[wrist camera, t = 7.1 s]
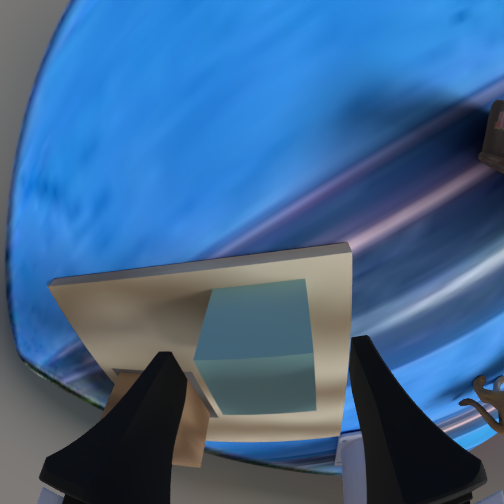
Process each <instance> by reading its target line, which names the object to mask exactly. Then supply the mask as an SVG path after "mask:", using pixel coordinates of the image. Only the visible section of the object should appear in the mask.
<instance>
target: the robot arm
mask: <svg viewBox="0 0 504 504" xmlns="http://www.w3.org/2000/svg"><path fill="white" fill-rule="evenodd" d="M349 372H350V380H351V388H352V394H353V398H354V402H355V407H356V411H357V415H358V420H359V424H360V429H361V431H358V432H352V433H345V434H341V435H340V436H339V437H338V444H337V450H336V457H335V466H341V465H342V472H343V486H344V504H470V500H471V499H472V498H473V497H472V491H473V490H475V489H477V488H479V487H480V486H482V485H484V484H485V483H486V482H487V476H486V472H485V469H484V466H483V464H482V462H481V460H480V459H478V458H477V457H476V456H474V455H473V454H471V453H470V452H468V451H467V450H465V449H464V448H463V447H461V446H460V445H459V444H457V443H456V442H455V441H454V440H452V439H451V438H450V437H449V436H448V435H447V434H445V433H444V432H443V431H442V430H441V429H440V428H439V427H438V426H436V425H435V424H434V423H433V422H432V421H431V420H430V419H429V418H428V417H427V416H426V415H425V414H424V412H423V411H422V410H421V409H420V408H419V407H418V406H417V405H416V404H415V402H414V401H413V400H412V399H411V398H410V397H409V395H408V394H407V393H406V392H405V390H404V389H403V388H402V386H401V385H400V384H399V382H398V381H397V380H396V378H395V377H394V375H393V374H392V373H391V371H390V370H389V368H388V367H387V365H386V364H385V362H384V361H383V359H382V358H381V356H380V355H379V353H378V351H377V350H376V348H375V346H374V344H373V343H372V341H371V339H370V337H369V336H367V335H365V336H358V337H352V338H351V352H350V364H349ZM187 382H188V379H187V377H186V376H185V374H184V372H183V371H182V369H181V367H180V366H179V364H178V362H177V360H176V359H175V357H174V355H173V353H172V352H171V351H159V352H158V353H157V354H156V356H155V357H154V358H153V359H152V361H151V362H150V363H149V365H148V366H147V367H146V368H145V370H144V371H143V372H142V374H141V375H140V376H139V378H138V379H137V380H136V381H135V383H134V384H133V385H132V386H131V388H130V389H129V390H128V391H127V393H126V394H125V395H124V396H123V397H122V398H121V400H120V401H119V402H118V403H117V404H116V405H115V406H114V408H113V409H112V410H111V411H110V412H109V413H108V414H107V415H106V416H105V417H104V418H103V419H101V420H100V421H99V422H98V423H97V424H96V425H95V426H94V427H93V428H91V429H90V430H89V431H88V432H86V433H85V434H84V435H83V436H81V437H80V438H78V439H77V440H76V441H74V442H73V443H71V444H70V445H69V446H67V447H65V448H63V449H62V450H60V451H58V452H56V453H54V454H52V455H50V456H48V457H47V458H46V460H45V462H44V465H43V468H42V470H41V473H40V476H39V479H40V480H41V481H42V482H44V483H46V484H48V485H49V486H51V487H53V488H55V489H57V490H59V491H60V492H63V493H64V494H65V496H64V498H63V497H61V496H59V495H57V494H55V493H53V492H52V491H49V490H48V489H46V488H42V491H41V494H40V497H39V500H38V503H37V504H170V482H171V468H172V459H173V451H174V445H175V441H176V437H177V433H178V429H179V425H180V421H181V417H182V413H183V409H184V404H185V400H186V392H187ZM474 504H504V497H503V492H502V491H501V490H500V491H498V492H496V493H495V494H493V495H491V496H489V497H487V498H485V499H483V500H481V501H479V502H476V503H474Z"/></svg>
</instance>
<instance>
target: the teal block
mask: <svg viewBox="0 0 504 504" xmlns="http://www.w3.org/2000/svg"><path fill="white" fill-rule="evenodd" d="M193 361H194V363H195V365H196V367H197V369H198V371H199V373H200V375H201V376H202V378H203V380H204V382H205V384H206V386H207V387H208V389H209V391H210V393H211V395H212V396H213V398H214V400H215V402H216V404H217V405H218V407H219V409H220V410H221V412H222V414H223V415H262V414H283V413H296V412H308V411H317V407H316V384H315V366H314V351H313V341H312V331H311V322H310V313H309V304H308V296H307V288H306V280H305V279H298V280H289V281H281V282H272V283H263V284H254V285H245V286H235V287H225V288H215V289H212V293H211V296H210V300H209V304H208V307H207V311H206V314H205V318H204V322H203V325H202V329H201V333H200V336H199V340H198V344H197V347H196V351H195V355H194V359H193Z"/></svg>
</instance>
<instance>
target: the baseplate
mask: <svg viewBox="0 0 504 504" xmlns="http://www.w3.org/2000/svg"><path fill="white" fill-rule="evenodd" d="M298 279H305V280H306V288H307V296H308V304H309V313H310V322H311V331H312V341H313V351H314V366H315V384H316V407H317V411H308V412H296V413H283V414H262V415H223V414H222V412H221V410H220V409H219V407H218V405H217V404H216V402H215V400H214V398H213V396H212V395H211V393H210V391H209V389H208V387H207V386H206V384H205V382H204V380H203V378H202V376H201V375H200V373H199V371H198V369H197V367H196V365H195V363H194V361H193V359H194V355H195V351H196V347H197V344H198V340H199V336H200V333H201V329H202V325H203V322H204V318H205V314H206V311H207V307H208V304H209V300H210V296H211V293H212V289H215V288H225V287H235V286H245V285H254V284H263V283H272V282H281V281H289V280H298ZM48 288H49V290H50V292H51V293H52V295H53V297H54V299H55V300H56V302H57V304H58V305H59V307H60V309H61V310H62V312H63V313H64V315H65V317H66V318H67V320H68V321H69V323H70V324H71V326H72V327H73V329H74V330H75V332H76V333H77V335H78V336H79V338H80V339H81V341H82V342H83V344H84V345H85V346H86V348H87V349H88V351H89V352H90V353H91V355H92V356H93V357H94V359H95V360H96V361H97V363H98V364H99V365H100V367H101V368H102V369H103V371H104V372H105V373H106V374H107V376H108V377H109V378H110V379H111V381H112V382H113V383H114V384H115V382H116V380H117V378H118V375H119V373H120V372H123V373H137V374H142V372H143V371H144V370H145V368H146V367H147V366H148V365H149V363H150V362H151V361H152V359H153V358H154V357H155V356H156V354H157V353H158V352H159V351H171V352H172V353H173V355H174V357H175V359H176V360H177V362H178V364H179V366H180V367H181V369H182V371H183V372H184V374H185V375H186V376H187V378H188V379H189V381H190V383H191V384H192V386H193V388H194V389H195V391H196V392H197V394H198V396H199V397H200V399H201V400H202V402H203V403H204V405H205V407H206V408H207V410H208V411H209V413H210V418H209V423H208V429H207V434H206V440H205V441H219V442H277V441H295V440H308V439H318V438H327V437H335V436H340V432H341V425H342V418H343V410H344V402H345V393H346V383H347V372H348V360H349V347H350V329H351V305H352V251H351V249H350V246H349V244H348V242H347V243H340V244H332V245H324V246H316V247H308V248H300V249H292V250H284V251H276V252H268V253H260V254H252V255H244V256H236V257H228V258H220V259H211V260H203V261H195V262H187V263H179V264H171V265H163V266H155V267H146V268H138V269H130V270H122V271H114V272H105V273H97V274H89V275H81V276H72V277H64V278H56V279H54V280H53V281H52V282H51V283H50V284H49V286H48Z"/></svg>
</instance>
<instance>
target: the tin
mask: <svg viewBox="0 0 504 504" xmlns="http://www.w3.org/2000/svg"><path fill="white" fill-rule="evenodd" d="M478 159H479V160H480V161H481V162H482V163H484V164H486V165H488V166H489V167H491V168H494V169H496V170H497V171H499V172H501V173H502V174H504V100H496V101H495V102H494V103H493V104H492V106H491V110H490V113H489V118H488V123H487V128H486V133H485V138H484V143H483V147H482V151H481V153H479V155H478Z"/></svg>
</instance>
